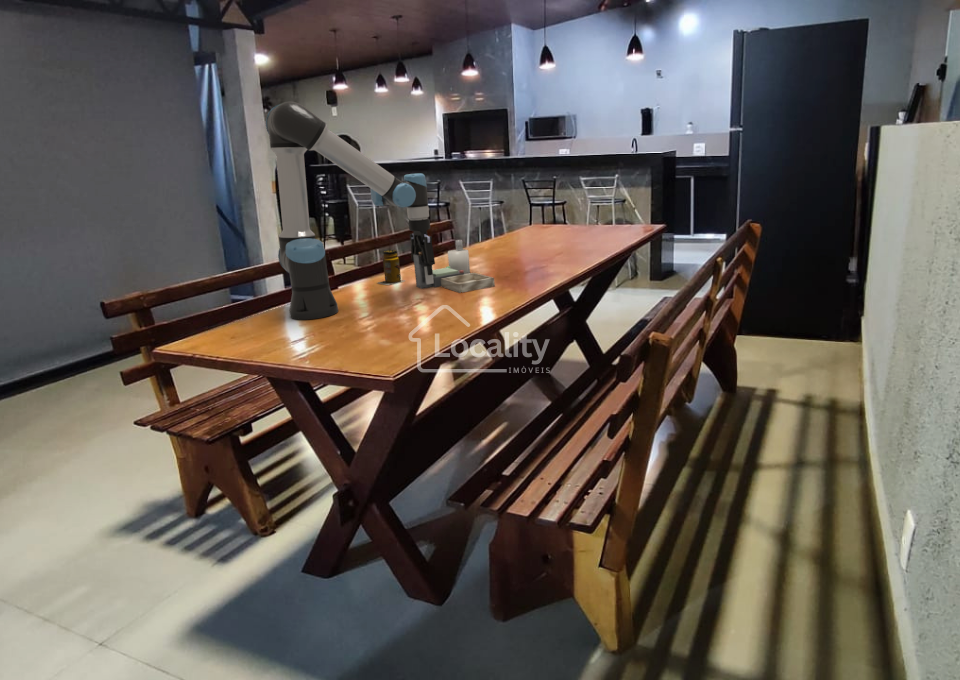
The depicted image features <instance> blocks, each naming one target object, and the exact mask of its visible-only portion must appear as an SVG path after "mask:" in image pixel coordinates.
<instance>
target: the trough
mask: <svg viewBox="0 0 960 680" xmlns="http://www.w3.org/2000/svg"><path fill="white" fill-rule="evenodd" d="M495 285H496V284H495V277H493V276H489V275H485V274H481V273H477V272H470V273H469V274H464V275H458V276H453V277H447V278H441V286H440V287H441V288H443V287H444V288H445V289H447V290H450V291H451V292H452V291H453V292H456V293H459V294H460V293H461V292H462V293H466V292H472V291H476V290H481V289H482V290H483V289H487V288H492V287H495Z"/></svg>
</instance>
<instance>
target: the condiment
mask: <svg viewBox="0 0 960 680" xmlns="http://www.w3.org/2000/svg"><path fill="white" fill-rule="evenodd" d="M382 254H383V255H382V256H383V259H382V263H383V272H384V279H385V280H383V281H378V282H377V284H380V285H386V286H390V285H395V284H398V283H403V282H405V281H406V280H403V279H402V278H401V277H402V276H401V268H400V258H399V256H398V250H397V249H388V250H384V251H383V252H382Z"/></svg>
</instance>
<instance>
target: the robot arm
mask: <svg viewBox="0 0 960 680" xmlns="http://www.w3.org/2000/svg"><path fill="white" fill-rule="evenodd" d="M327 124H328V123H326V122H325V121H323V120H322V119H321V118H319V116H316V115H315V113H313V112H312V111H310V110H309V109H308V108H306V107H305V106H304V105H302V104H301V103H299V102H295V101H285V102H281V103H280V104H277V105H275V106H274V107H272V108H271V109H270V110H269V111H268V113H267V116H266V119H265V128H266V131H267V133H268V136H269V137H268V138H269V147H270V150H271V151H272V152H273V153H274V154H275V158H276V169H277V181H278V190H279V191H278V193H279V200H280V201H279V202H280V212H281V225H282V231H281V232H280V233H279V234H278V244H279V245H278V246H279V247H278V248H279V250H278V254H277V259H278V262H279V264H280V266H281V267H282V268H283V269H284V270H285V271H286V273H288V274H289V278H290V286H291V293H292V294H291V297H290V298H291V299H290V304H289V317H290V319H294V320H303V321H304V320H305V321H307V320H316V319H321V318H323V319H324V318H326V317H330V316H333V315H335V314H337V313H338V312H339V306H338V303H337V301H336V298H335V296H334V295H333V292H332V290H331V287H330V281H329V273H328V267H327V265H328V264H327V258H326V249H325V246H324V243H323V242H322V240H320V239H317V238H316V234H315V232H314V231H312V230H311V228H310V215H309V202H308V201H309V200H308V190H307V180H306V179H307V177H306V176H307V175H306V167H305V153H306V152H307V151H310V152H311V151H315V152H316V153H318V154H319V155H321V156H322V157H324V158H325V159H326V160H328V161H330V162H332V164H335V166H337V167H339V168H340V169H342V170H343V171H345V172H346V173H347V174H348V175H351V176H352V177H353V178H355V179H356V180H358V181H359V182H361V183H362V184H364V185H365V186H367V187H369V188H370V198H371V201H372V204H373V205H374V206H376V207H380V206H382V207H384V206H394V207H398V208H406V211H407V213H406V214H407V219H409V220H408V229H409V231H411V232H413V233H410V234H409V239H410V255H411V258H410V259H411V261H412V262H414V257H413V254H418V253H419V252H421V251H422V254H423V258H424V261H425V265H424V268H425V278H426V284H433V283H434V280H433V270H434V269H433V266H434V265H435V264H436V260H435V259H436V258H435V254H434V253H435V252H434V249H433V248H434V247H433V237H432V236H431V235H429V236H428V230H430V229H431V221H430V219H429V217H430V207H429V199H428V198H429V197H428V189H427V188H428V186H427V181H426V176H425V174H424V173H420V172H419V173H410V174H408V173H407V174H405V175H403V180H400V179H398V177H396V176H395V175H393V174H392V173H391V172H389V171H388V170H386V169H385V168H383V167H382V166H381V165H379V164H378V163H376V162H375V161H373V160H372V159H371V158H369V157H368V156H366V155H365V154H364V153H362V152H361V151H360V150H358V149H357V148H355V147H354V146H353V145H352V144H349V143H348V142H347V141H346V140H345V139H343V138H341V137H340V136H338V135H337V134H336V133H334V132H333V131H331V130H330V129H329V128H328V125H327Z"/></svg>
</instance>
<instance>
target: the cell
mask: <svg viewBox="0 0 960 680" xmlns="http://www.w3.org/2000/svg"><path fill="white" fill-rule="evenodd" d="M413 257H414V261H413V265H414V274H415V275H414V276H415V283H416V284H415V287H416V288H419V289H421V290H422V289H423V290H424V289H427V288H434V287H433V285H432V284H426V278H425V268H424V265H425V261H424V258H423V254H422V251H421V252H419V253H418V254H413Z"/></svg>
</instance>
